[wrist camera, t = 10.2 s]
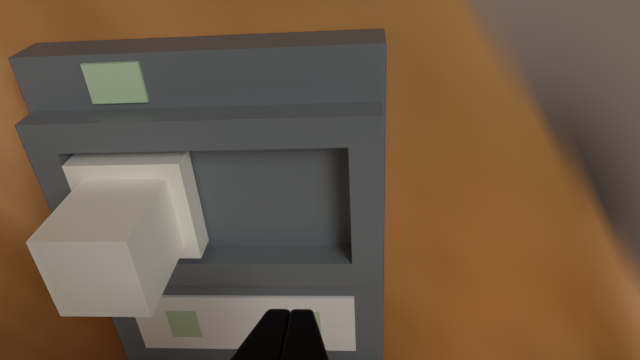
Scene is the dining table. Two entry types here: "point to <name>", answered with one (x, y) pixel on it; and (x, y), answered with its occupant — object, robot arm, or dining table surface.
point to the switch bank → (236, 173)
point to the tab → (119, 232)
